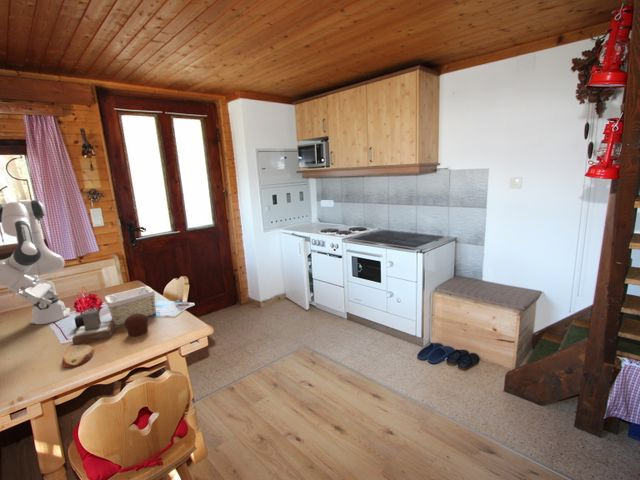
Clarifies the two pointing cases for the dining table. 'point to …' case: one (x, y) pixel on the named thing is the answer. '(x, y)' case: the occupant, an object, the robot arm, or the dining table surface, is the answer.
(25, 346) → the dining table surface
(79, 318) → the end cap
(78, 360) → the slice of bread
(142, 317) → the muffin
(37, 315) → the robot arm
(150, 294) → the storage basket
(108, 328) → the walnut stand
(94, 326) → the block
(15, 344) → the dining table surface
